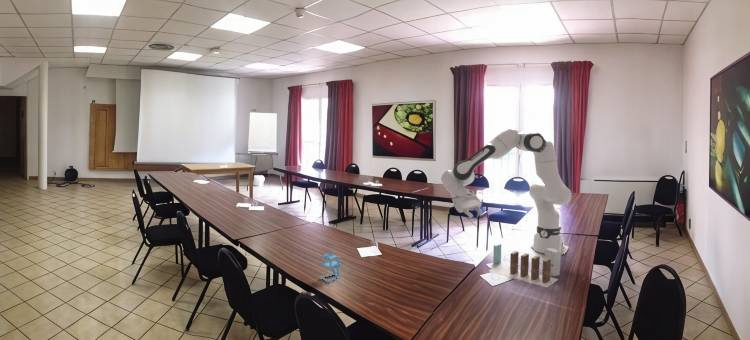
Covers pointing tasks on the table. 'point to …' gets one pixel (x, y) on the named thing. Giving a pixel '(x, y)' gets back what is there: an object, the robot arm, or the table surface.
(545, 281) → the domino
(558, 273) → the skincare box
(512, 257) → the domino
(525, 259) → the domino
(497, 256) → the domino
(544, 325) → the table surface
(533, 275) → the domino
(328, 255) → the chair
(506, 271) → the row mat
